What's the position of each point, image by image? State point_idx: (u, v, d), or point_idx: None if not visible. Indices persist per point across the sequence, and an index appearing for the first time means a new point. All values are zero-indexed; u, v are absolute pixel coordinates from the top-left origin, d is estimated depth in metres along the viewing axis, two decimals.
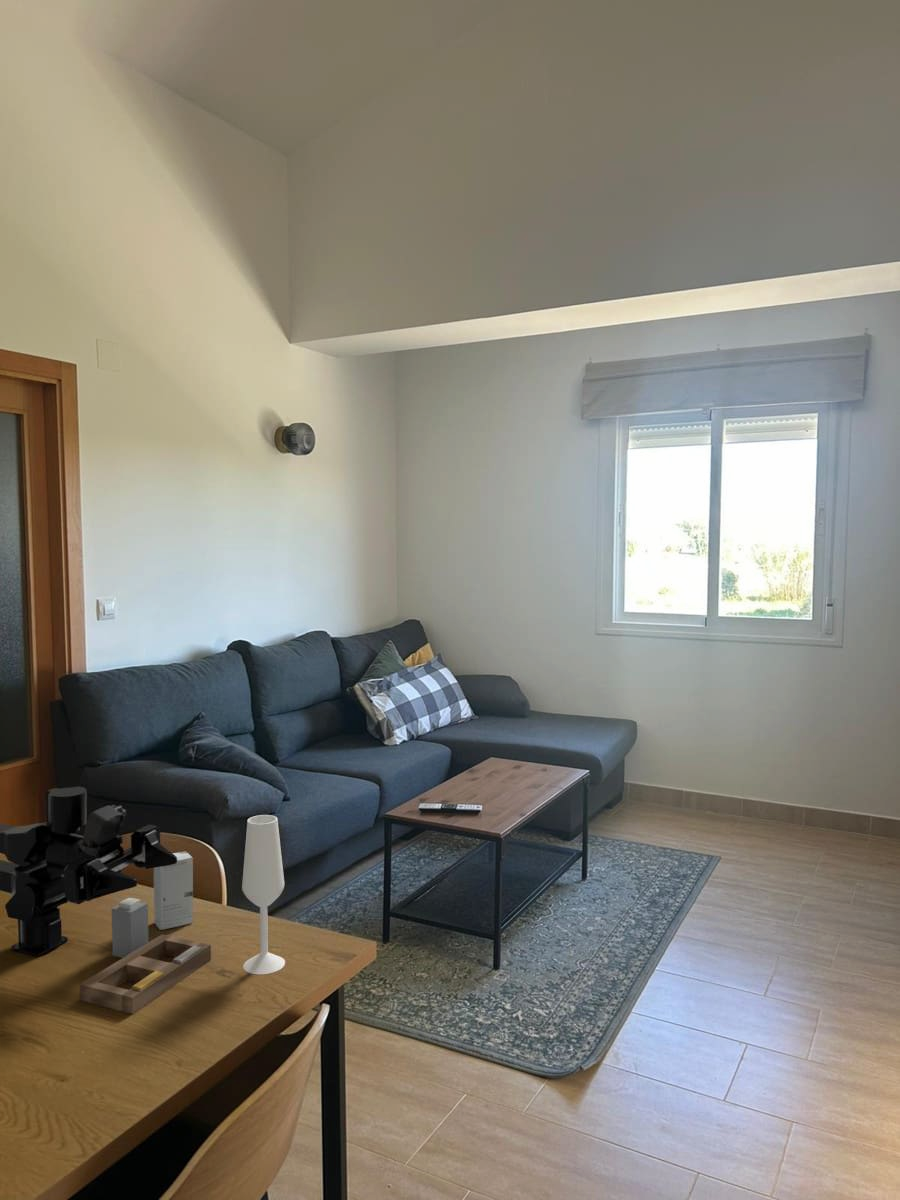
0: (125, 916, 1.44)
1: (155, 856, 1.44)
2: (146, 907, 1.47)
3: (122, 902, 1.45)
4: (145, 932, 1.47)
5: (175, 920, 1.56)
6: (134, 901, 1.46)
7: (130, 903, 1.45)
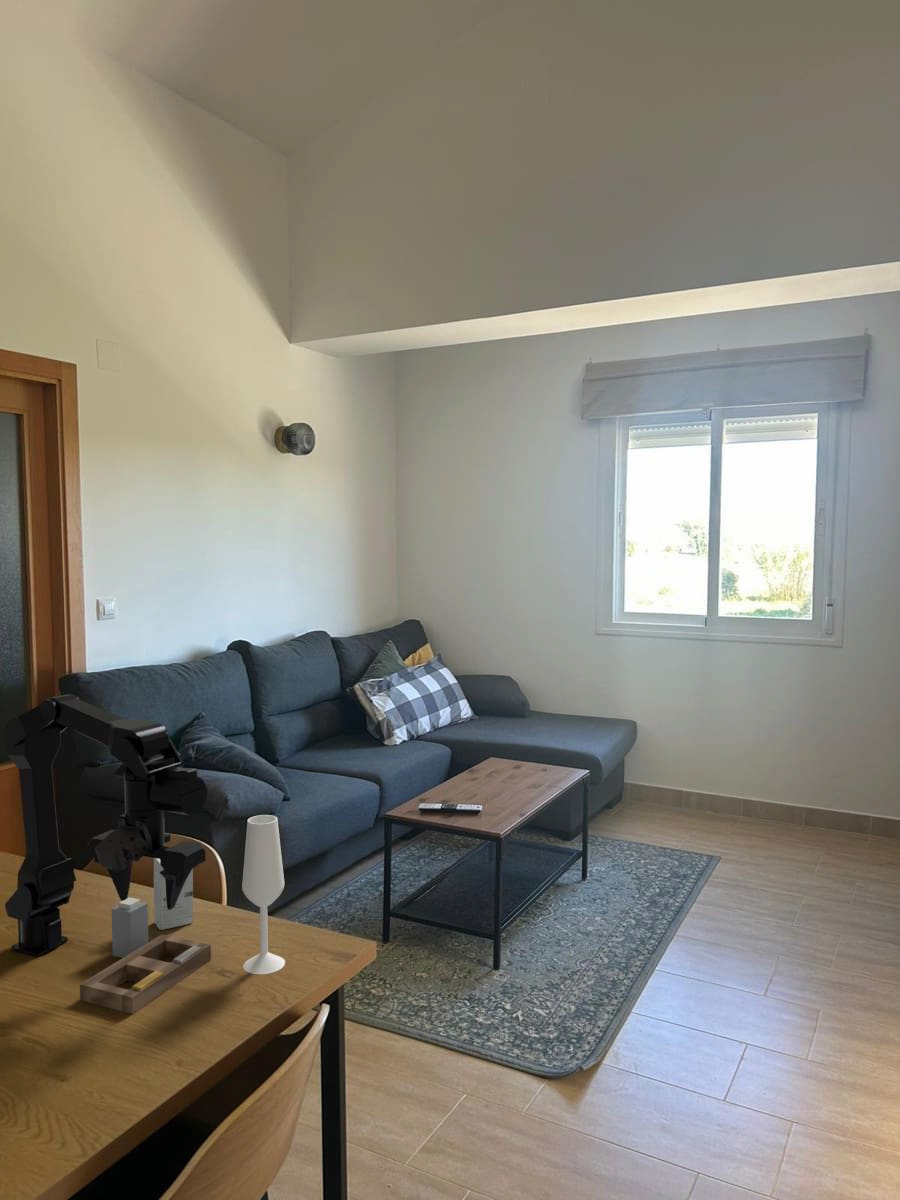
0: (125, 916, 1.44)
1: None
2: (146, 907, 1.47)
3: (122, 902, 1.45)
4: (145, 932, 1.47)
5: (175, 920, 1.56)
6: (134, 901, 1.46)
7: (130, 903, 1.45)
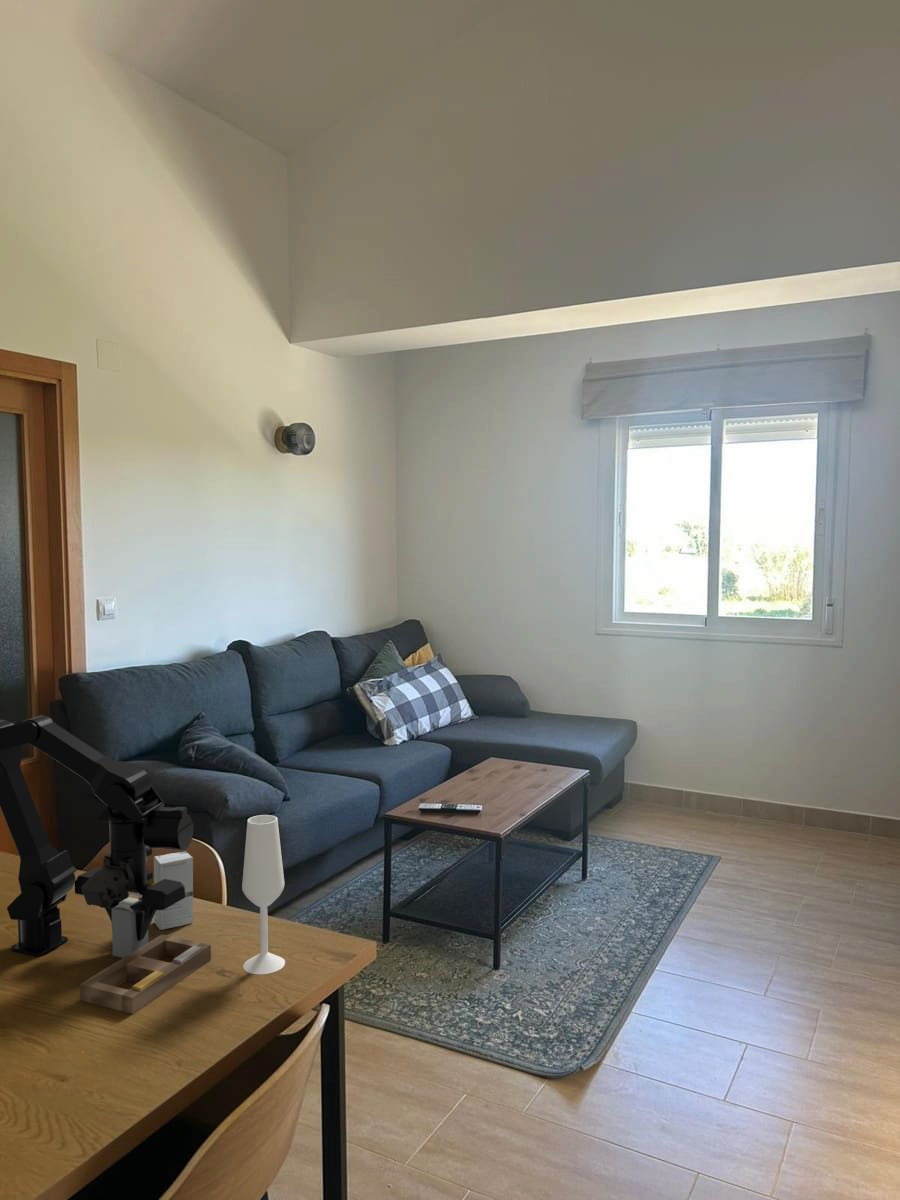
0: (125, 915, 1.44)
1: None
2: None
3: (122, 901, 1.45)
4: None
5: (175, 920, 1.56)
6: (134, 901, 1.46)
7: (130, 903, 1.45)
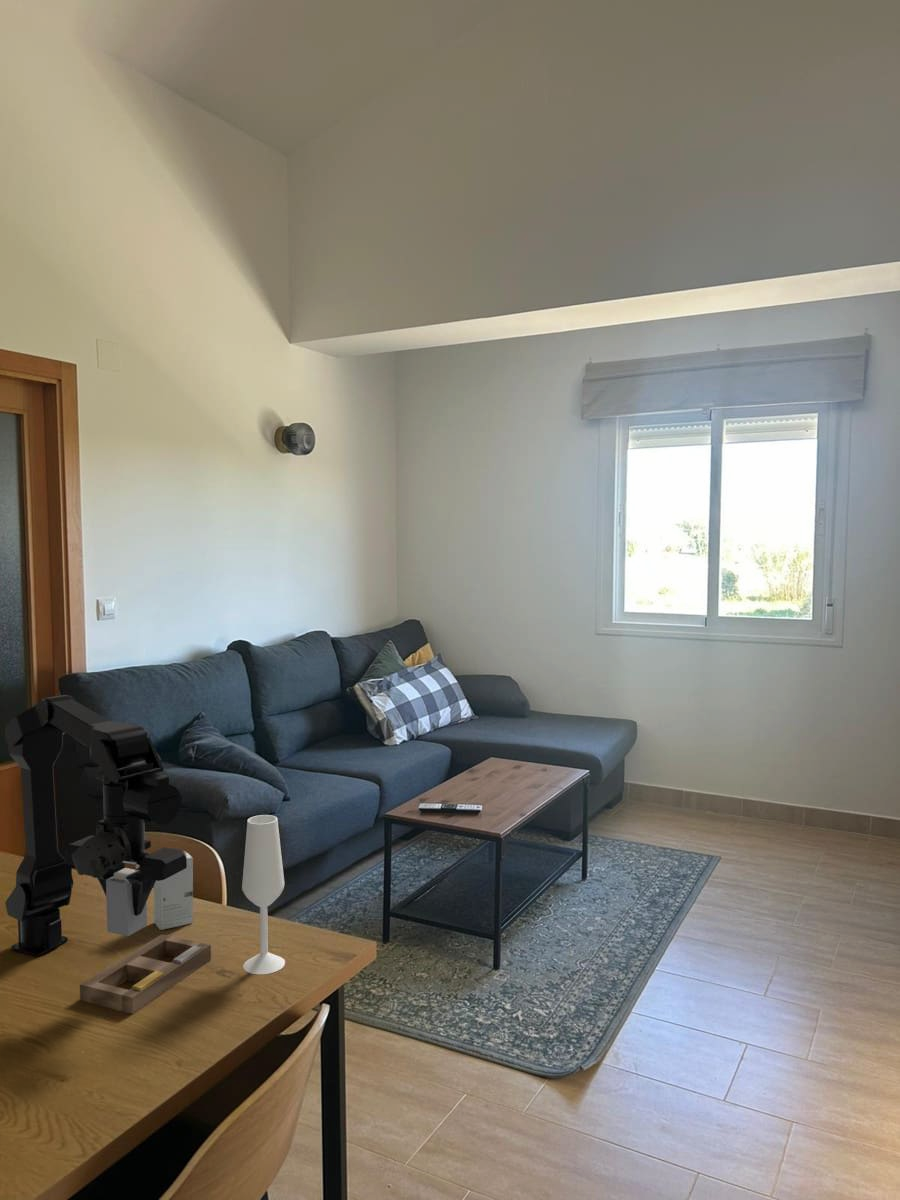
0: (121, 887, 1.30)
1: None
2: None
3: (118, 872, 1.32)
4: None
5: (175, 920, 1.56)
6: (131, 872, 1.32)
7: (126, 874, 1.31)
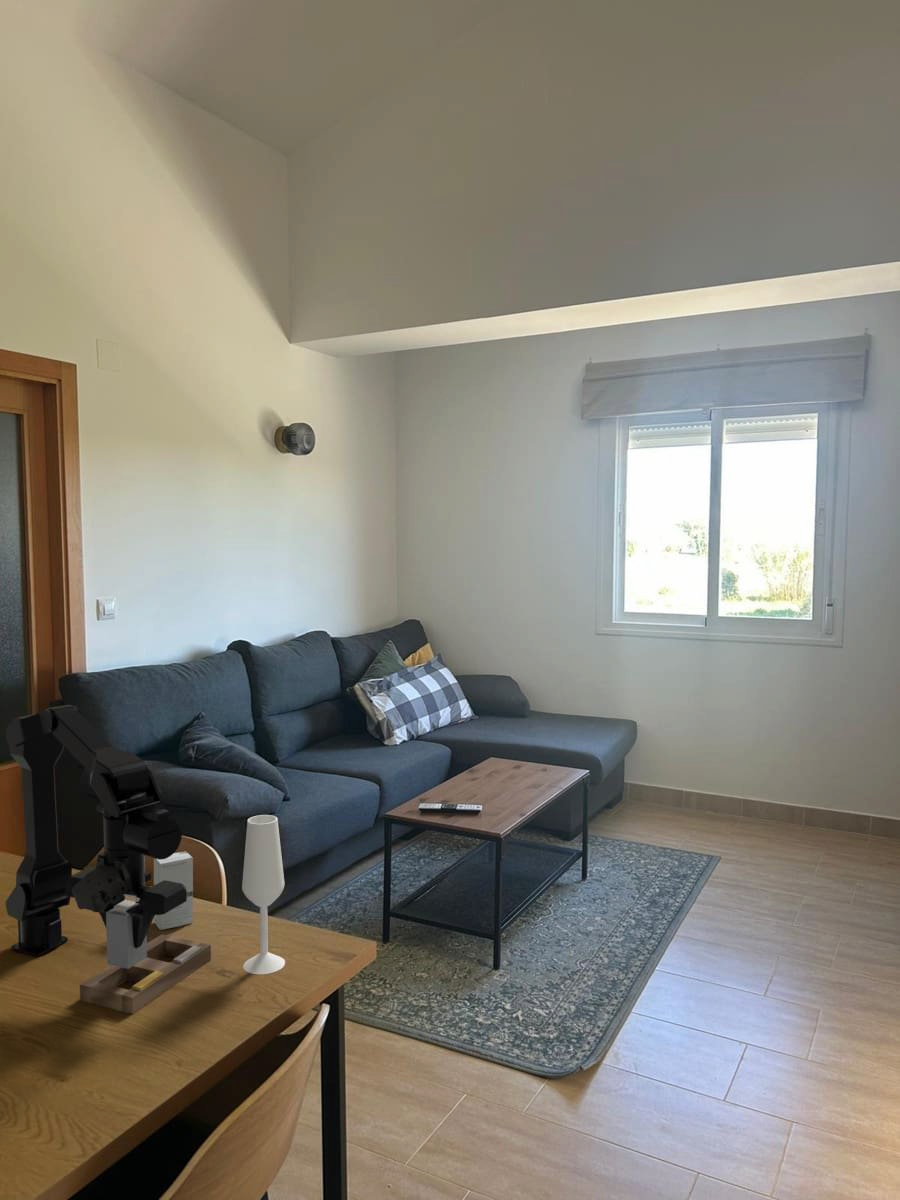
0: (121, 920, 1.30)
1: None
2: None
3: (118, 904, 1.32)
4: None
5: (175, 920, 1.56)
6: (131, 904, 1.32)
7: (126, 906, 1.31)
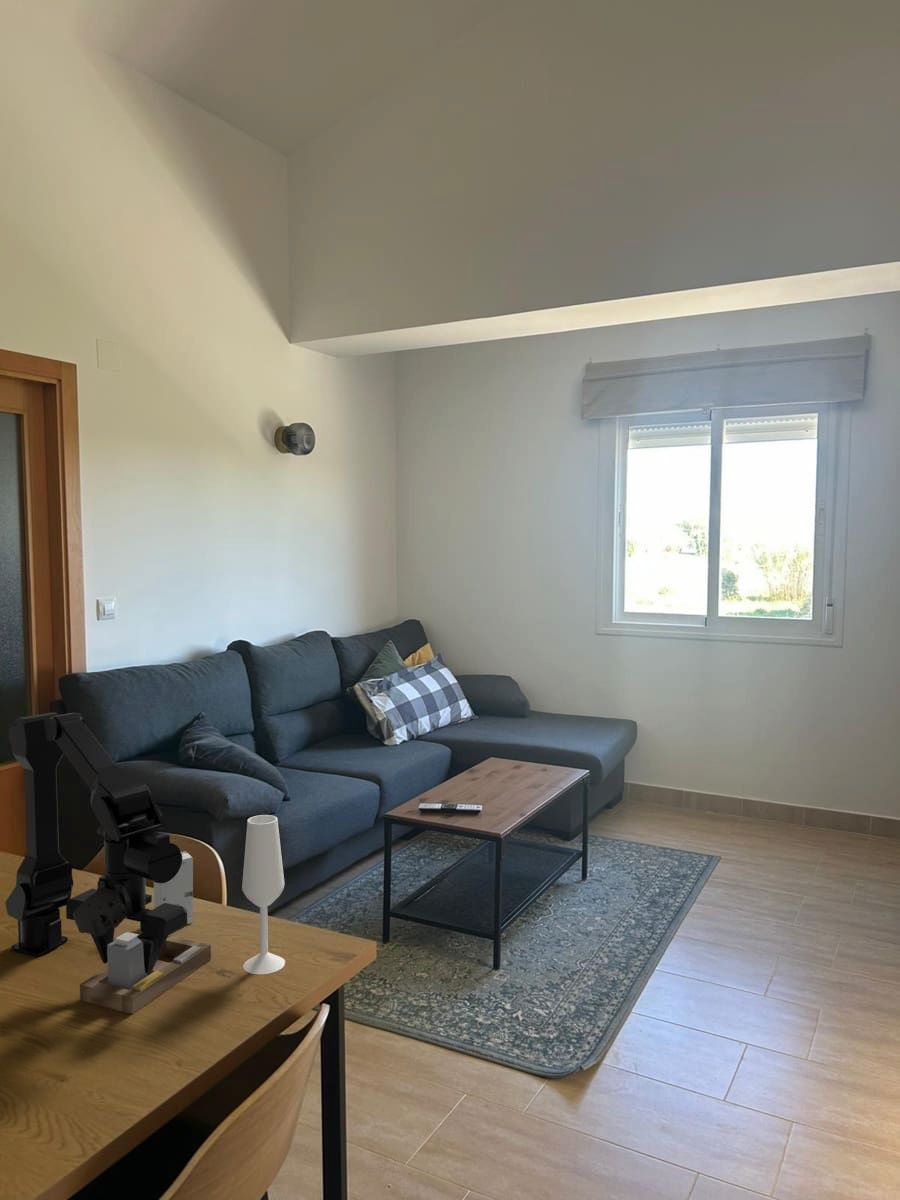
0: (122, 953, 1.31)
1: None
2: None
3: (119, 937, 1.32)
4: (144, 970, 1.34)
5: None
6: (132, 936, 1.33)
7: (128, 939, 1.32)
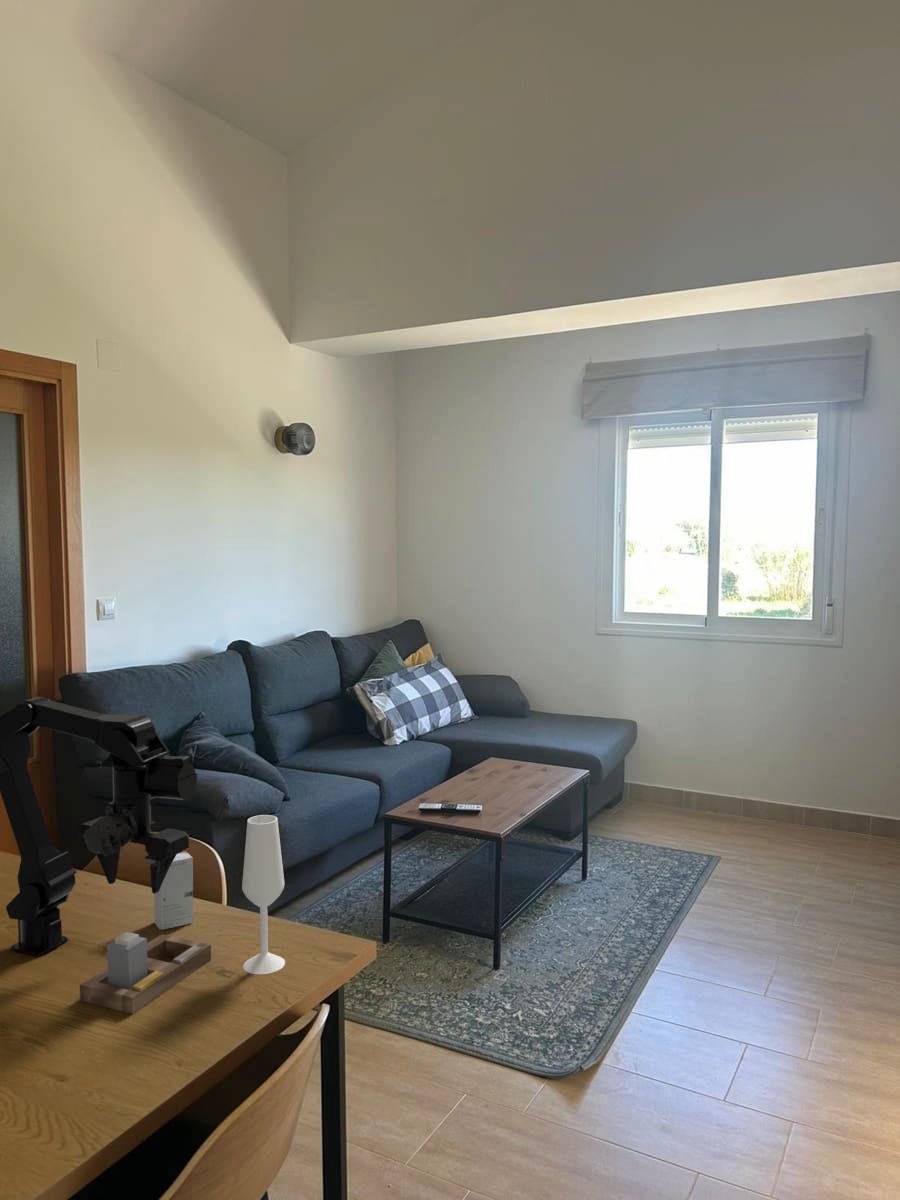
0: (122, 953, 1.31)
1: None
2: (145, 943, 1.34)
3: (119, 937, 1.32)
4: (144, 970, 1.34)
5: (175, 920, 1.56)
6: (132, 936, 1.33)
7: (127, 939, 1.32)
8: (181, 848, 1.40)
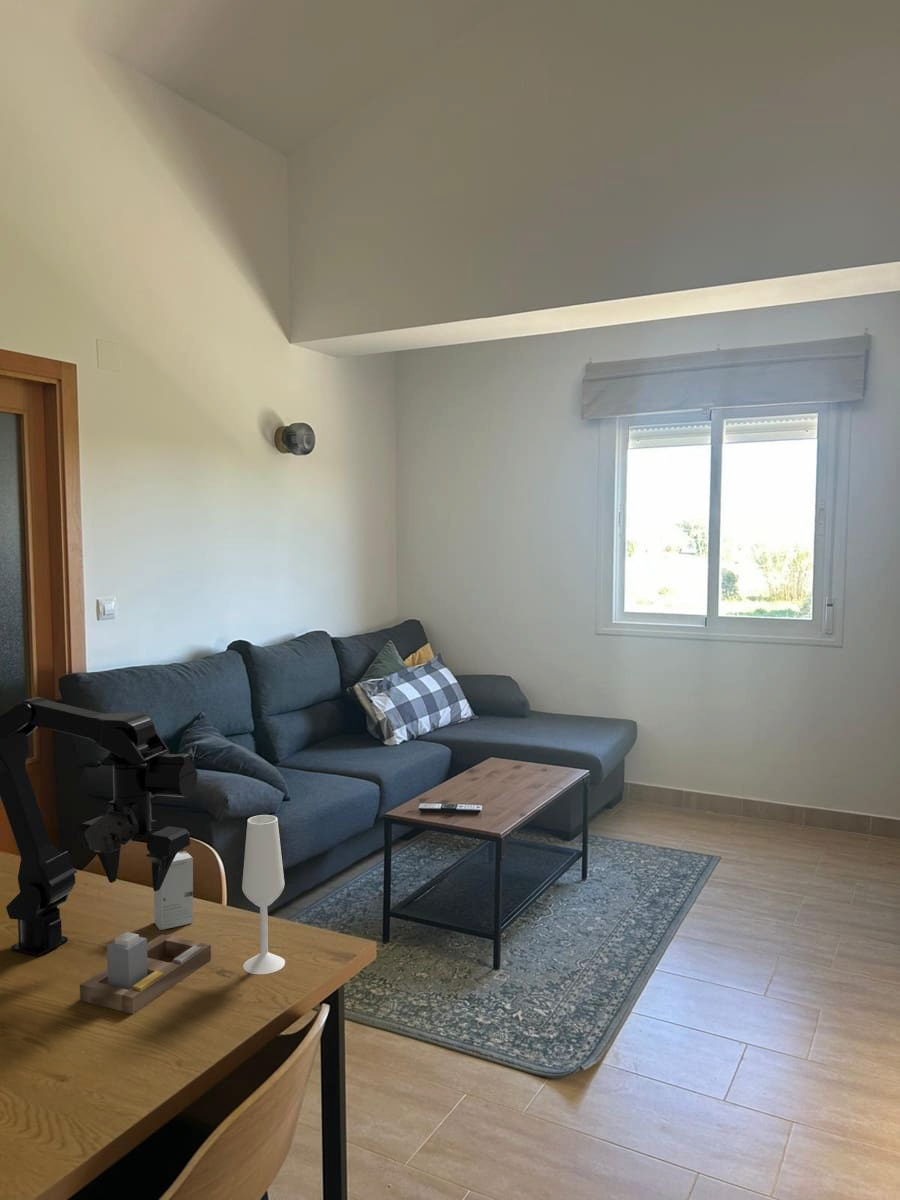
0: (122, 953, 1.31)
1: None
2: (145, 943, 1.34)
3: (119, 937, 1.32)
4: (144, 970, 1.34)
5: (175, 920, 1.56)
6: (132, 936, 1.33)
7: (127, 939, 1.32)
8: (182, 845, 1.41)
